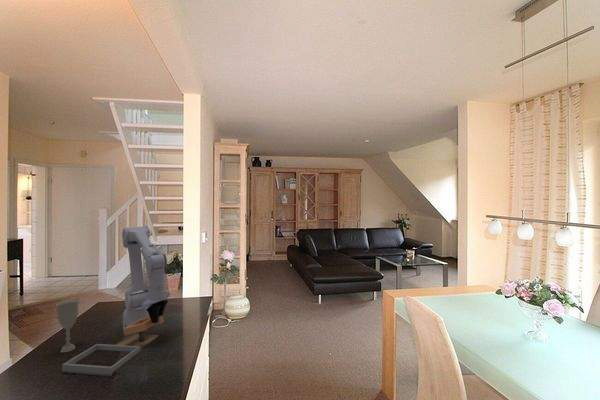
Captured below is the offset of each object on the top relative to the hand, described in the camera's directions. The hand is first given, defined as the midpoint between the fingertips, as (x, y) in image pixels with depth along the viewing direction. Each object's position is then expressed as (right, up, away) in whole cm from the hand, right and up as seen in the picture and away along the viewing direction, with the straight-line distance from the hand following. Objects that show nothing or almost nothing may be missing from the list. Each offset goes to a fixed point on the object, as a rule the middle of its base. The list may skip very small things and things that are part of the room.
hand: (156, 321), depth 111 cm
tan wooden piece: (-8, -9, +1) cm, 12 cm away
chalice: (-30, -9, -5) cm, 32 cm away
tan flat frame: (-4, -2, +1) cm, 4 cm away
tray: (-12, -9, -12) cm, 19 cm away
